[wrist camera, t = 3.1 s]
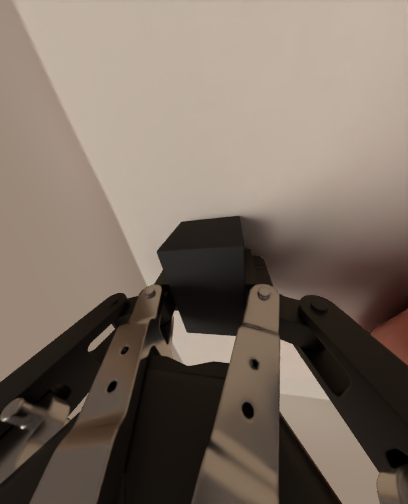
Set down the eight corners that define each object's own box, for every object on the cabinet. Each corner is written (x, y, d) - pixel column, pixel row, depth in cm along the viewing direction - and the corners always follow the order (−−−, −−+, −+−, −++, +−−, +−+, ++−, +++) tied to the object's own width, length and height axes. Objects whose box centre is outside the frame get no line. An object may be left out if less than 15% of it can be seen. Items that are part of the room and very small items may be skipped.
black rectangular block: (180, 221, 10) (155, 251, 7) (239, 215, 9) (244, 246, 6) (197, 290, 13) (186, 332, 10) (242, 290, 13) (246, 337, 9)
